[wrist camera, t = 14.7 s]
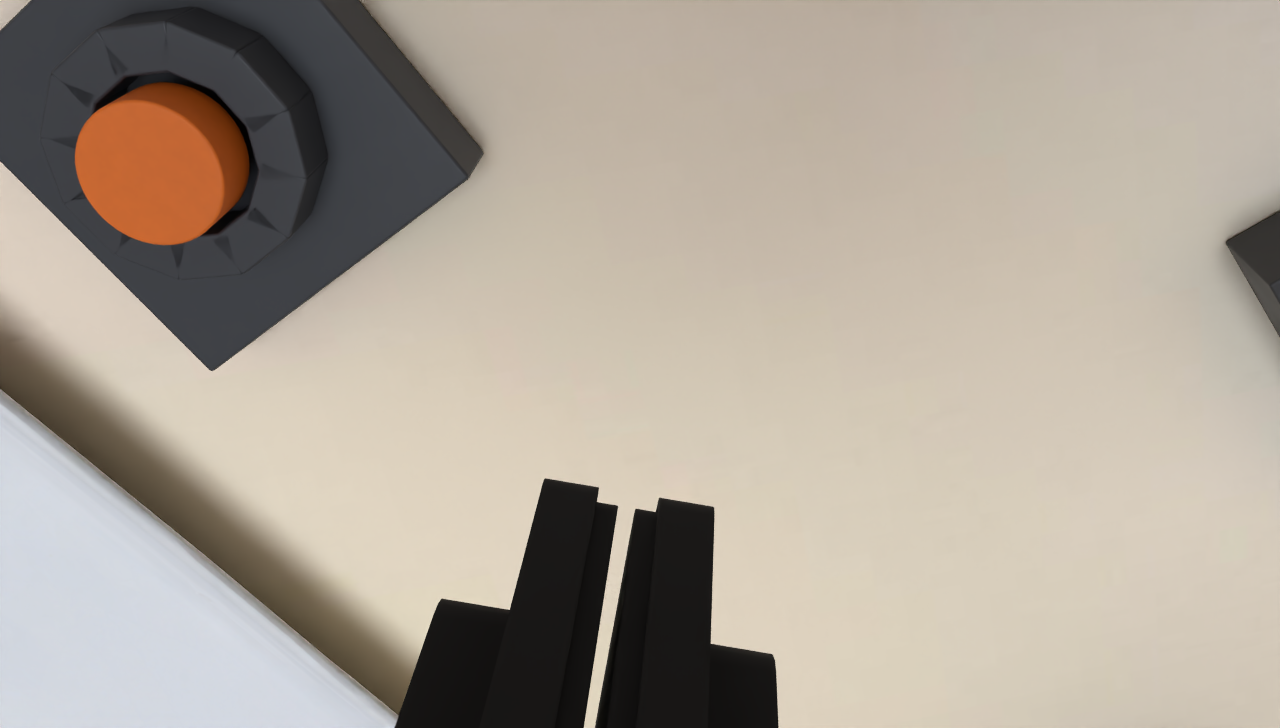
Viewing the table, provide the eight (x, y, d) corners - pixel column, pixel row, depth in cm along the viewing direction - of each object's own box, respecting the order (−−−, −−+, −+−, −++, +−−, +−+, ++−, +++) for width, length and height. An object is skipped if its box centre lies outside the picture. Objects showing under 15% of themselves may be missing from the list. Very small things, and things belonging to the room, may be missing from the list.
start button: (78, 137, 29) (42, 159, 28) (174, 51, 28) (142, 69, 27) (184, 247, 30) (154, 273, 29) (280, 168, 29) (254, 191, 28)
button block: (-20, 74, 32) (-112, 114, 29) (225, -163, 29) (156, -151, 26) (239, 339, 36) (185, 404, 32) (485, 153, 32) (455, 201, 29)
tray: (-233, 100, 33) (-332, 135, 30) (528, 751, 43) (512, 828, 40) (-482, 423, 39) (-586, 480, 36) (236, 931, 49) (203, 1011, 46)
